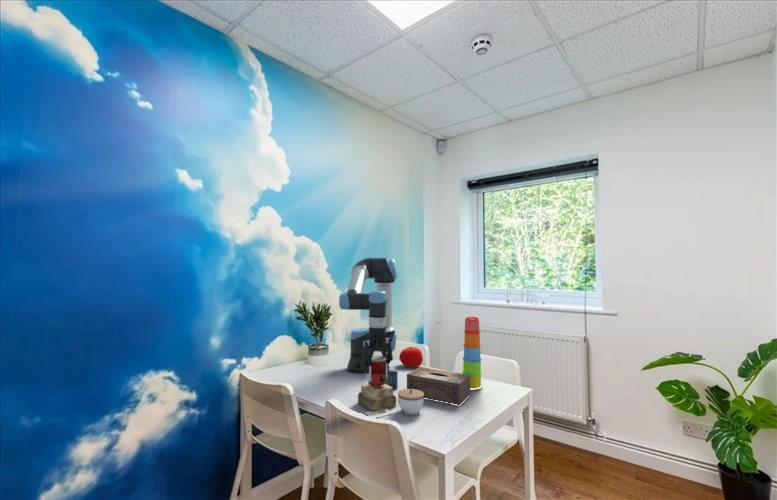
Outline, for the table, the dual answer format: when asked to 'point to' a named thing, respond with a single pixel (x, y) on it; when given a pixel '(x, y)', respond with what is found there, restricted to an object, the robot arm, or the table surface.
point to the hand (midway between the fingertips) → (376, 379)
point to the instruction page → (379, 413)
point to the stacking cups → (472, 352)
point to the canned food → (378, 371)
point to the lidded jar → (411, 400)
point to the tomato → (411, 357)
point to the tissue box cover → (440, 384)
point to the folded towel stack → (376, 397)
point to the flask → (392, 378)
